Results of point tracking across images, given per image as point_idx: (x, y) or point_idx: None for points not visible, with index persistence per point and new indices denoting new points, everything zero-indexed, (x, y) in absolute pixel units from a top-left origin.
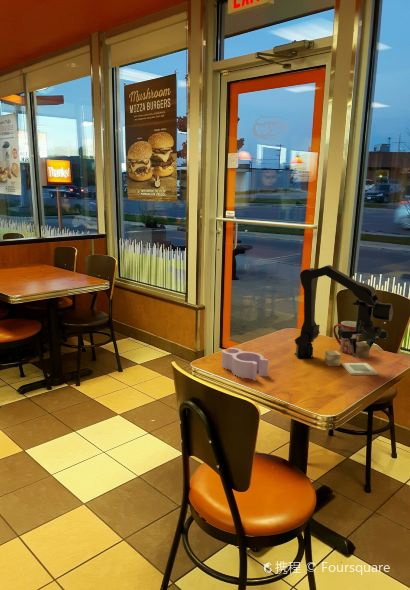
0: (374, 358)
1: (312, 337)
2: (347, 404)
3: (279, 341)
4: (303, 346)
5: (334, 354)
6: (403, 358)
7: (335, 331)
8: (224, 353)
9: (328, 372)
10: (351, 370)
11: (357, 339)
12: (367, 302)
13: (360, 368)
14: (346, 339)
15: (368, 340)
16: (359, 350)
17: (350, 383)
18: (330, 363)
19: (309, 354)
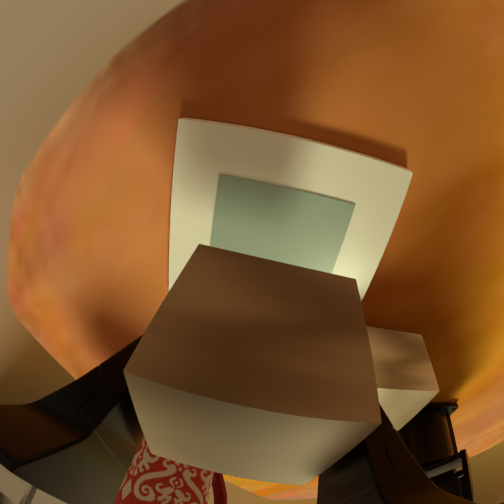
0: (102, 340)
1: (459, 492)
2: None
3: None
4: (451, 451)
5: (405, 394)
6: (9, 296)
7: (216, 502)
8: None
9: (498, 251)
10: (377, 215)
11: (143, 454)
12: None
13: (276, 230)
14: (198, 471)
15: (106, 466)
16: (341, 349)
17: (494, 48)
18: (416, 344)
19: (416, 422)
